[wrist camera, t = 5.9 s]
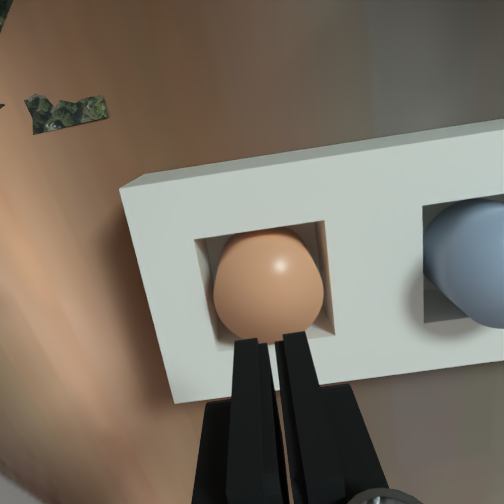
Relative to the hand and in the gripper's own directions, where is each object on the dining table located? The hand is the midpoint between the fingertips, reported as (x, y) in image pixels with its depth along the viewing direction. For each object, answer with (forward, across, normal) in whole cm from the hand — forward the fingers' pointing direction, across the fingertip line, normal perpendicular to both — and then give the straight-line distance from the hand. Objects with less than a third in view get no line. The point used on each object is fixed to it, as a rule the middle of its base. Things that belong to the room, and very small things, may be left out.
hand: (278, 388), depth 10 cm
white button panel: (+11, -9, +1) cm, 14 cm away
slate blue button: (+9, -9, +1) cm, 12 cm away
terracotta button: (+10, 0, +1) cm, 10 cm away
